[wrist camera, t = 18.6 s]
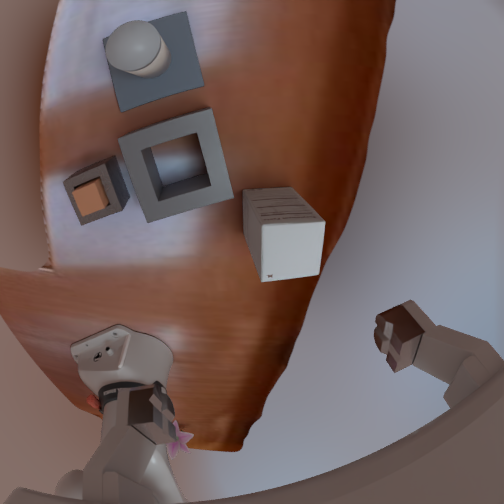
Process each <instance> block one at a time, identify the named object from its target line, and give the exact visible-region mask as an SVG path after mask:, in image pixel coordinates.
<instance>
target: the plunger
mask: <svg viewBox="0 0 504 504" xmlns="http://www.w3.org/2000/svg"><path fill="white" fill-rule="evenodd" d="M72 194H73V196H74V199H75V201H76V203H77V206H78V208H79V210H80V213H81V215H82V217H83V216H85V215H88V214H91V213H93V212H96V211H98V210H101V209H104V208H105V207H106V206H107V204H108V203H109V199H108V197H107V194H106V192H105V189H104V186H103V184H102V181H101V178H100V176H98V177H96V178H94V179H91V180H89V181H86V182H84V183H82V184H81V185H79V186H78V187H77V188H76V189H75V190H74V191H73V192H72Z"/></svg>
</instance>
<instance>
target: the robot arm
mask: <svg viewBox="0 0 504 504" xmlns="http://www.w3.org/2000/svg"><path fill="white" fill-rule="evenodd" d="M375 322H376V324H377V327H376V328H375V330H374V339H375V343H376V345H377V347H378V349H379V350H380V352H382V353H384V354H386V355H387V358H386V361H387V362H388V364H389V365H390V367H391V368H392V370H393V371H394V373H395V372H398V371H400V370H402V369H404V368H406V367H408V366H410V365H412V364H413V365H414V366H415V367H417V368H419V369H421V370H423V371H425V372H427V373H429V374H431V375H432V376H434V377H436V378H438V379H440V380H442V381H444V382H446V383H448V384H449V387H448V389H447V390H446V392H445V394H444V399H445V401H446V402H447V404H448V405H449V407H450V408H451V409H449V410H448V411H446V412H445V413H443V414H442V415H440V416H439V417H437V418H436V419H434V420H433V421H431V422H429V423H428V424H426V425H425V426H423V427H421V428H419V429H418V430H416V431H414V432H413V433H411V434H409V435H407V436H405V437H404V438H402V439H400V440H398V441H396V442H394V443H392V444H390V445H388V446H386V447H384V448H383V449H380V450H378V451H377V452H374V453H372V454H370V455H368V456H366V457H363V458H361V459H359V460H356V461H354V462H351V463H349V464H347V465H344V466H342V467H339V468H337V469H334V470H332V471H329V472H326V473H323V474H320V475H317V476H314V477H311V478H308V479H305V480H302V481H298V482H295V483H292V484H288V485H284V486H281V487H277V488H273V489H269V490H265V491H261V492H256V493H251V494H246V495H240V496H235V497H229V498H222V499H216V500H209V501H199V502H188V501H187V499H186V498H185V497H184V495H183V493H182V492H181V490H180V488H179V486H178V484H177V481H176V479H175V477H174V474H173V472H172V469H171V466H170V463H169V459H168V455H167V447H166V443H173V442H177V439H176V427H175V426H174V425H173V424H172V420H173V419H174V417H175V412H174V407H173V403H172V401H171V399H170V397H169V396H168V395H167V391H166V386H167V380H168V375H169V371H170V368H171V366H172V363H173V355H172V352H171V350H170V349H169V348H168V347H167V346H166V345H165V344H164V343H163V342H162V341H160V340H158V339H157V338H154V337H152V336H149V335H146V334H142V333H138V332H134V331H132V330H130V329H128V328H127V327H125V326H122V325H115V326H113V327H110V328H108V329H106V330H104V331H101V332H99V333H97V334H95V335H92V336H90V337H88V338H86V339H83V340H81V341H79V342H76V343H74V344H72V345H71V354H72V356H73V358H74V360H75V361H76V363H77V364H78V373H79V376H80V378H81V379H82V381H83V382H84V383H85V385H86V386H87V387H88V388H89V389H90V390H91V391H92V392H93V393H94V394H96V395H97V396H98V397H99V400H100V401H99V400H98V399H96V397H95V396H94V395H89V397H87V402H88V404H89V405H91V406H92V407H93V408H98V409H99V411H100V412H101V413H102V414H103V422H102V431H101V444H100V446H99V447H98V448H97V450H96V451H95V453H94V454H93V456H92V458H91V459H90V461H89V462H88V463H87V465H86V466H85V468H84V469H83V471H82V470H72V471H70V472H68V473H66V474H65V475H64V476H63V477H62V478H61V479H60V481H59V482H58V484H57V486H56V489H55V495H51V494H47V493H42V492H38V491H34V490H30V489H27V488H22V487H19V488H16V489H15V490H14V491H13V492H12V493H11V494H10V495H9V497H8V498H7V499H6V501H5V502H4V503H3V504H504V361H503V359H502V358H501V357H500V356H499V354H498V353H497V352H496V351H495V350H494V348H493V347H492V346H491V345H490V344H489V343H488V342H487V341H484V340H481V339H478V338H475V337H473V336H470V335H467V334H464V333H461V332H458V331H455V330H452V329H450V328H447V327H444V326H441V325H438V326H436V325H435V324H434V323H433V322H432V321H431V320H430V319H429V317H428V316H427V315H426V314H425V313H424V312H423V311H422V310H421V309H420V307H418V305H417V304H416V303H415V302H414V301H412V300H409V301H407V302H404V303H403V304H400V305H398V306H395V307H393V308H391V309H389V310H387V311H384V312H382V313H380V314H378V315H377V316H376V320H375Z"/></svg>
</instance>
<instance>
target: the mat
mask: <svg viewBox="0 0 504 504" xmlns="http://www.w3.org/2000/svg"><path fill="white" fill-rule="evenodd" d="M148 23H150V24H152V25H153V26H154V27H155V28H156V30H157V31H158V33H159V34H160V36H161V37H162V39H163V41H164V42H165V44H166V46H167V47H168V49H169V50H170V53H171V63H170V66H169V68H168V69H167V70H166V71H165V72H164V73H163V74H162V75H160V76H158V77H156V78H151V79H147V78H142V77H140V76H137V75H134V74H131V73H129V72H126V71H123V70H120V69H117V68H115V67H114V66H112V65H111V64H110V63H109V61H108V59H107V61H108V65H109V69H110V73H111V77H112V81H113V85H114V89H115V93H116V96H117V100H118V104H119V107H120V111H121V112H124V111H127V110H129V109H132V108H135V107H137V106H140V105H143V104H146V103H149V102H152V101H154V100H158V99H161V98H164V97H167V96H170V95H173V94H177V93H180V92H184V91H187V90H191V89H194V88H198V87H202V86H204V82H203V78H202V74H201V70H200V66H199V62H198V58H197V54H196V50H195V46H194V42H193V37H192V33H191V29H190V25H189V21H188V17H187V13H186V11H185V12H181V13H177V14H173V15H170V16H166V17H163V18H159V19H156V20H153V21H150V22H148ZM109 37H110V36H109ZM109 37H107V38H104V39H103V44H104V48H105V50H106V44H107V41H108V39H109ZM105 53H106V52H105Z"/></svg>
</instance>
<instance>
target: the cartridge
mask: <svg viewBox="0 0 504 504" xmlns="http://www.w3.org/2000/svg"><path fill="white" fill-rule="evenodd" d="M105 52H106V57H107V59H108V61H109V63H110V64H111V65H112V66H114V67H115V68H117V69H120V70H123V71H126V72H129V73H131V74H134V75H137V76H140V77H142V78H147V79H151V78H156V77H158V76H160V75H162V74H163V73H164V72H165V71H166V70H167V69H168V68H169V66H170V63H171V53H170V50H169V49H168V47H167V46H166V44H165V42H164V41H163V39H162V37H161V36H160V34H159V33H158V31H157V30H156V28H155V27H154V26H153V25H152V24H150V23H148V22H145V21H139V20H138V21H130V22H127V23H125V24H123V25H121V26H119V27H118V28H117V29H116V30H115V31H114V32H113V33H112V34H111V35H110V37H109V39H108V41H107V44H106V50H105Z"/></svg>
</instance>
